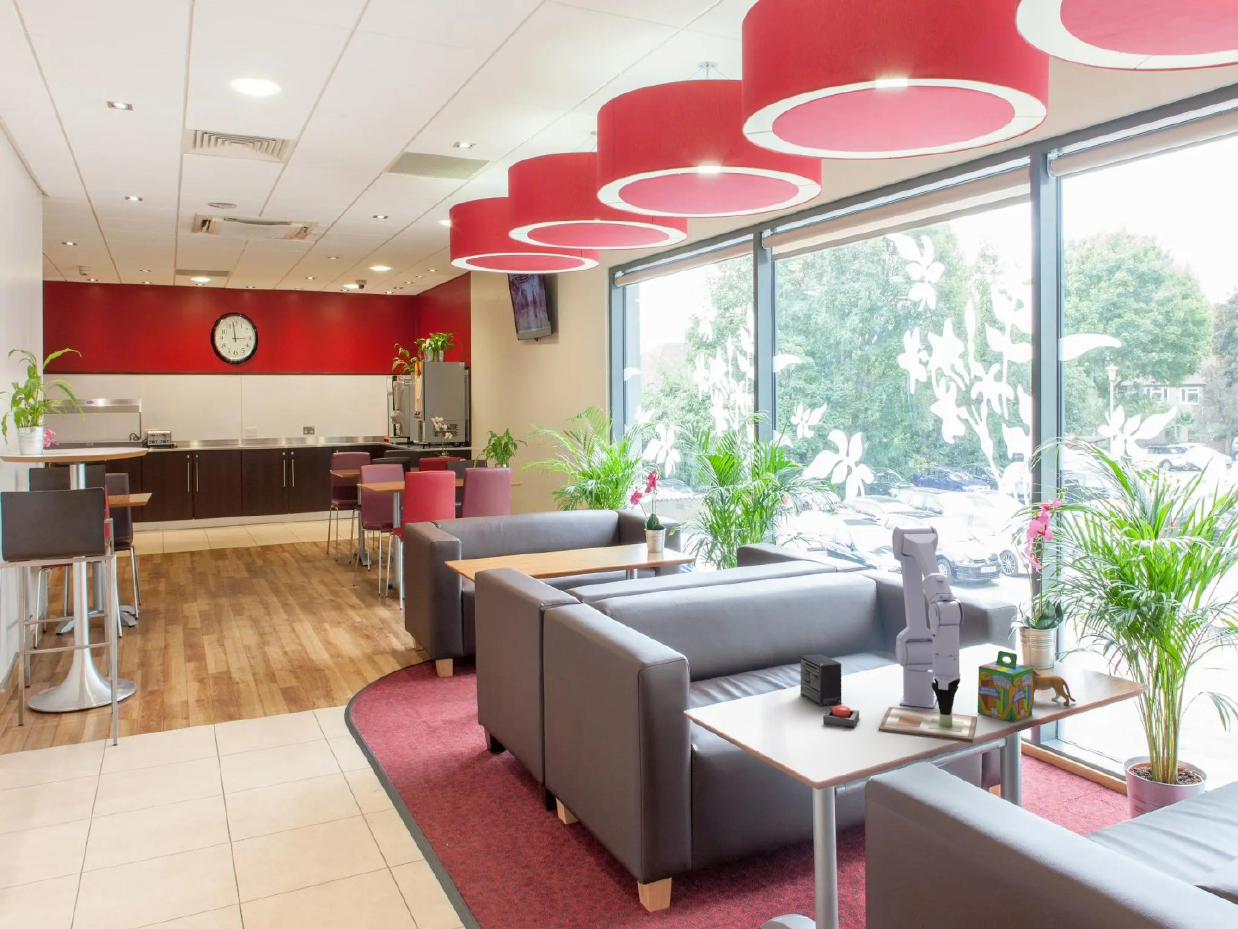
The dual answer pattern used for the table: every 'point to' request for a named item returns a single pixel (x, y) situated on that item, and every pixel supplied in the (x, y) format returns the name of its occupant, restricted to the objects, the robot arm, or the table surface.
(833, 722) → the button housing
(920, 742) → the table surface
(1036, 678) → the lion figurine
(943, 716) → the sage marker
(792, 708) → the table surface
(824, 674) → the small box
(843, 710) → the button
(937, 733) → the framed sorting board
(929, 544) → the robot arm
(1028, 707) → the chalk box
